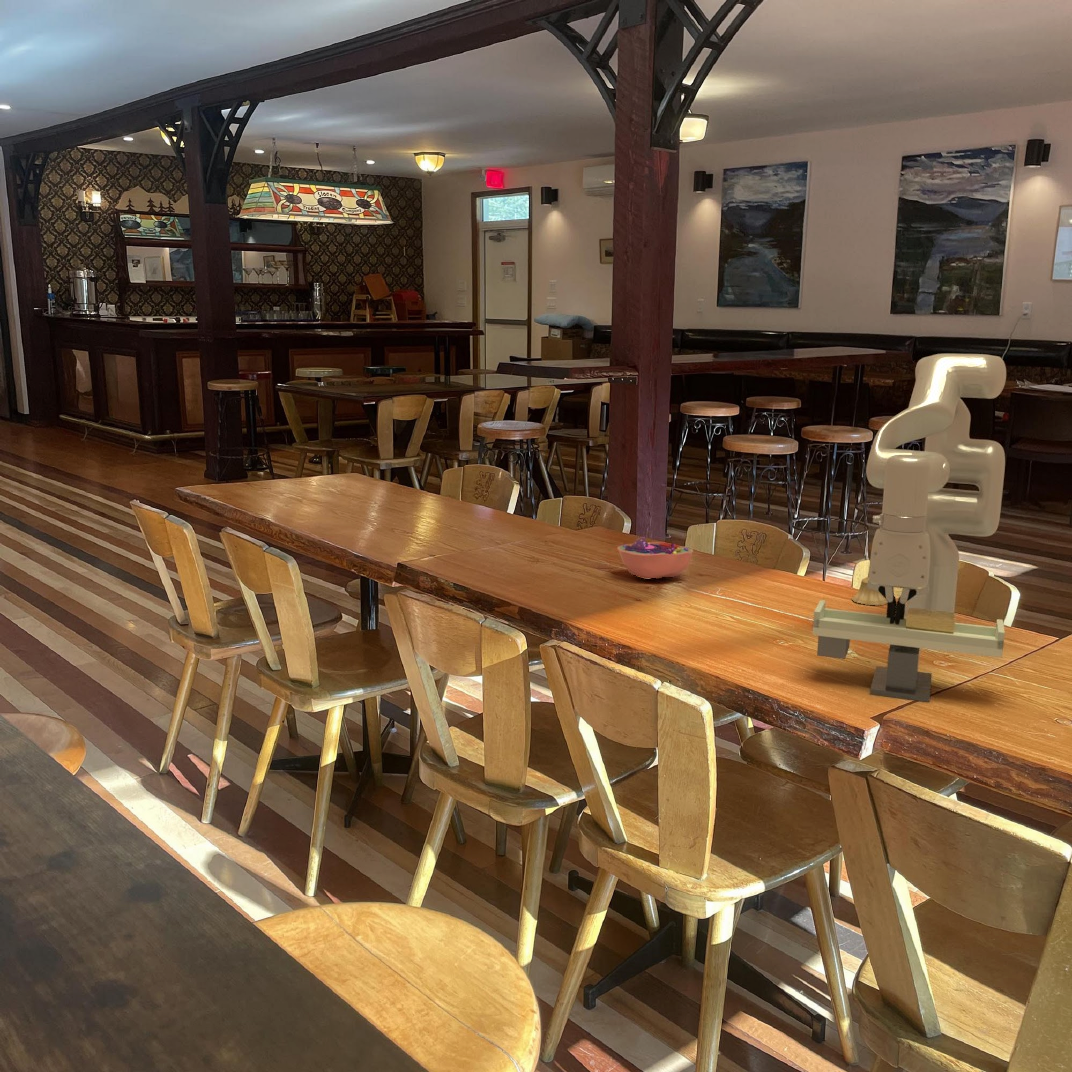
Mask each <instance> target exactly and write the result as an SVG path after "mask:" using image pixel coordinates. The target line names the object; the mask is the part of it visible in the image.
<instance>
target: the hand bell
mask: <svg viewBox="0 0 1072 1072" xmlns="http://www.w3.org/2000/svg"><path fill="white" fill-rule="evenodd" d="M873 540H874V537H872V539H871V541H870V544H869V547H868V561H869V562H870V558H871V551H872V544H873ZM868 566H870V564H869V565H868ZM868 580H869V571H868V574H867V577H864V578H862V579H861V582H860V586H859V589H858V591H857V592H856V594H855V595H853V596H852V598H851V601H852V600H853V601H854V603H855V602H857V603H856V604H858V603H861V604H860V605H863V604H865V605H864V606H870V605H875V606H874V607H881V606H880V605H882V606H885V605H887V604H888V602H887V601H886V599H885V598H884V597H883V595H882V594H881V593H880V592H879V591H875V590H872V589H869V588H868V587H867V583H868ZM853 601H852V602H853Z"/></svg>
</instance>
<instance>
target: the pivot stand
mask: <svg viewBox="0 0 1072 1072" xmlns="http://www.w3.org/2000/svg"><path fill="white" fill-rule="evenodd" d="M920 650H921V648H916V647H908V646H900V645H891V644H889V647H888V656H887V667H885V666H875V670H874V675H873V678H872V682H871V684H870V685H871V686H870V689H869V690H870V692H869V695H873V696H881V697H889V698H895V699H903V700H908V701H909V700H910V701H917V702H924V703H925V702H926V703H930V698H931V697H930V696H931V688H932V687H931V686H932V676H933V675H932V674H933V673H931V672H923V671H919V661H920Z"/></svg>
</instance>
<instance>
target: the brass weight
mask: <svg viewBox="0 0 1072 1072" xmlns="http://www.w3.org/2000/svg"><path fill="white" fill-rule="evenodd" d="M956 615H957V613H956V612H954V613H953V612H944V611H935V610H926V609H917V608H909V609H908V612H907V617H906V629H915V630H923V631H932V632H941V633H950V634H954V626H955V623H956Z"/></svg>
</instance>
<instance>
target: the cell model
mask: <svg viewBox="0 0 1072 1072" xmlns="http://www.w3.org/2000/svg"><path fill="white" fill-rule="evenodd" d="M616 549H617V550H618V552H619V555H620V558H621V561H622V563H623V564H624V566H625V567H626V569H627V571H628V573H629V574H630V573H631V574H630V575H632V574H633V575H637V576H640V577H644V578H656V579H663V578H662V577H673V578H675V577H674V576H676V577H677V576H679V575H680V574H682V573H684V571H686V570H687V568H688V567H689V565H690V562H691V559H692V558H691V557H692V554H693V552H694V549H693V548H690V547H687V546H684V545H683V546H682V545H678V544H675V543H672V542H671V543H669V542H661V541H660V542H659V541H658V542H657V541H649V542H647V541H646V537H645V536H640V537H638V538H637V539H635V540H634V542H633V543H627V544H622V545H618V546H617V548H616ZM633 575H632V576H633Z"/></svg>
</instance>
